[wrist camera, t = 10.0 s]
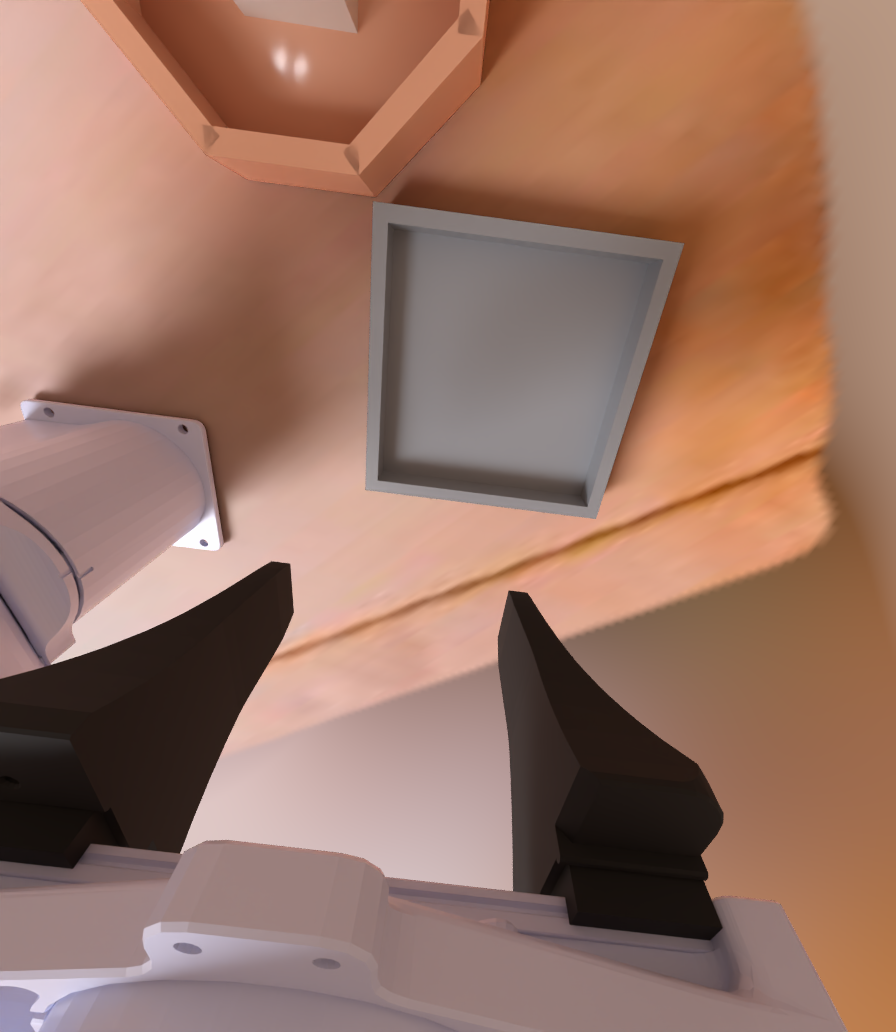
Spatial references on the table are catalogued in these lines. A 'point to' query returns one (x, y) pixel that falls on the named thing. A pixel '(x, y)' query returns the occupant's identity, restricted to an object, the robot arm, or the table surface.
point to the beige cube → (306, 12)
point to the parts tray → (505, 356)
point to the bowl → (305, 83)
